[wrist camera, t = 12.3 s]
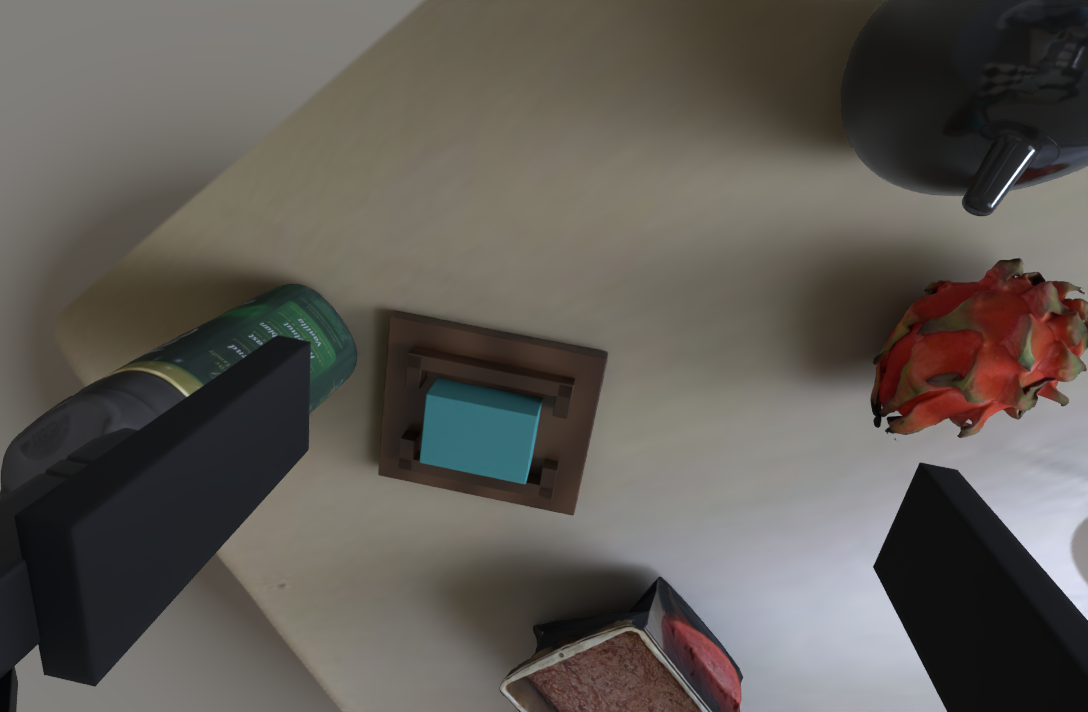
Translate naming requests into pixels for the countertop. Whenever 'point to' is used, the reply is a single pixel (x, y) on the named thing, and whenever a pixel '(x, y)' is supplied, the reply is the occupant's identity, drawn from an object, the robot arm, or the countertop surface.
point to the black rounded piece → (970, 95)
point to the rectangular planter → (628, 663)
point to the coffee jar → (184, 376)
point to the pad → (479, 430)
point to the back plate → (499, 364)
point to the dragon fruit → (980, 351)
